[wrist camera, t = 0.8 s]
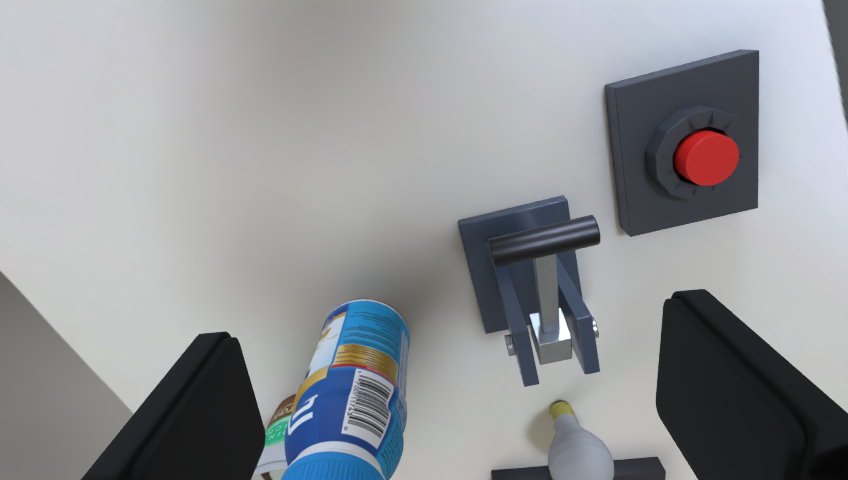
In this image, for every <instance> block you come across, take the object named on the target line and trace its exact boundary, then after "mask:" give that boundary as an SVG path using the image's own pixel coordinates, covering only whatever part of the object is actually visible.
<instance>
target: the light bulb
mask: <svg viewBox="0 0 848 480" xmlns="http://www.w3.org/2000/svg"><path fill="white" fill-rule="evenodd" d="M550 413H551V415H552V418H553V421H554V427H555V430H556V435H555V438H554V440H553V442H552V444H551V447H550V450H549V453H548V467H549V470H550V473H551V476H552V479H553V480H613V477H614V462H613V459H612V456H611V454H610V451H609V450H608V448H607V447H606V445H605V444H604V443H603V442H602V440H600V439H599V438H598V437H597V436H595V435H594V434H592V433H590V432H589V431H587V430H585V429H584V428H582V427H581V426H580V425H579V423H578V420H577V418H576V417H575V415H574V413H573V410H572V408H571V406H570V405H569V404H568V403H566V402H558V403H556V404H554V405H553V406H552V407H551V410H550Z"/></svg>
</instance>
